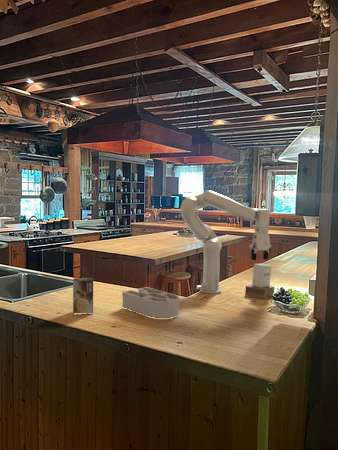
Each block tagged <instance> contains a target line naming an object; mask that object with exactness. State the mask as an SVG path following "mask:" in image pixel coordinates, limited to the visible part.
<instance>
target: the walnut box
mask: <svg viewBox="0 0 338 450" xmlns="http://www.w3.org/2000/svg"><path fill="white" fill-rule="evenodd" d="M244 292H245V293H244V295H245V296H246V297H249V298H254V299H259V300H262V301H264V300H267V299H270V298H273V297H272V295H273V293H274V294H275V286H273V285H270V286H269V287H262V288H261V287H258V286H254V285H252V283H251V284H248V285H245V291H244Z"/></svg>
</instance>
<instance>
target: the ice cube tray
mask: <svg viewBox="0 0 338 450" xmlns="http://www.w3.org/2000/svg"><path fill="white" fill-rule="evenodd" d="M137 290H138V291H137ZM137 290H133V289H130V290H125V291H122V293H121V295H122V304H121V305H122V308H123V307H124V308H127V309H130V310H132V311H135V312H138V313H141V314H144V315H147V316H150V317H155V318H170V317H174V316H177V315H178V316H179V313H180V301H181V300H180V299H181V298H180V296H179V295H177V294H174V293H170V292H167V291H163V290H160V289H156V288H153V287H152V288H151V287H148V286H145V287H140V288H138V289H137ZM178 316H177V317H178Z"/></svg>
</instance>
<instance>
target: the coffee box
mask: <svg viewBox="0 0 338 450" xmlns="http://www.w3.org/2000/svg"><path fill="white" fill-rule="evenodd" d="M72 286H73V287H72V293H73V294H72V314H73V313H93V314H94V279H93V278H92V277H84V278H83V277H82V278H81V277H80V278H73V280H72Z"/></svg>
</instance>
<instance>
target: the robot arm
mask: <svg viewBox="0 0 338 450" xmlns="http://www.w3.org/2000/svg"><path fill="white" fill-rule="evenodd" d="M209 206H210V207H212V208H214V209H217V210H220V211H222V212H224V213H227V214H229V215H232V216H233V217H235V218H239V219H241V220H244V221H247V222H251V221H255V224H254V226H255V227H254V233H253V237H252V243H251V244H249V246H248V248H249V250H250V253H251V261H257V252H258V251H263V255H262V258H263V260H268V259H269V253H270V250H271V248H272V247H273V246H272V244H271V239H270V238H271V237H270V232H269V228H270V227H269V226H270V216H271V215H270V213H271V212H270V209H268V208H254V207H249V206H246V205H243V204H241V203H239V202H237V201H235V200H233V198H232V199H231V197H227V196H224V195H223V194H220V193H217V192H216V191H213V190H211V189H209V190H204V191H203V193H201V194H198V195H196V196H189V197H186V198H184V199H183V201H182V202H181V205H180V208H179V210H180V211H179V212H180V216H181V218H182V220H183V221H184V223H185V225H187V227H188V228H189V230H190V231H191V232H192V234H193V236H194V237H195V239H197V240H198V241H201V242H202V243H203V251H202V252H203V271H202V283H201V284H200V285H196V290H199V291H200V292H201V293H203V294H211V295H212V294H213V295H216V294H220V293H221V292H222V289H221V288H219V286H220V285H219V283H220V262H221V261H220V260H221V259H220V258H221V256H220V254H221V253H220V252H221V250H222V247H223V244H222V241H221V240H220V239H219V237H218V235H217V234H216V233H215V232H214V230H213V229H212V227H210V225H208V224H205V223H203V221H202V219H200V217H199V215H197V213H196V212H195V211H197V210H201V209H203V208H206V207H209Z"/></svg>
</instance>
